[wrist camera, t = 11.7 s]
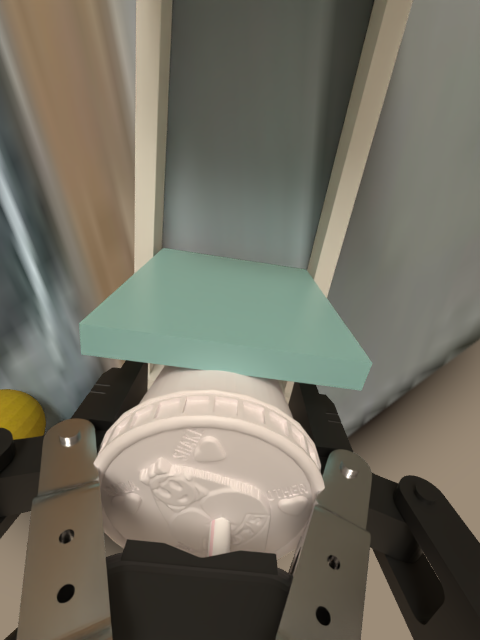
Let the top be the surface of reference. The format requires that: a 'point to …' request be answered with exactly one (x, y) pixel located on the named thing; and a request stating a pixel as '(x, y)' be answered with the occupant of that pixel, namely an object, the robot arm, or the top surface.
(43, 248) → the top surface
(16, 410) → the lemon
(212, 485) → the smoothie
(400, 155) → the top surface
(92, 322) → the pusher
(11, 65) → the top surface
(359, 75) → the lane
